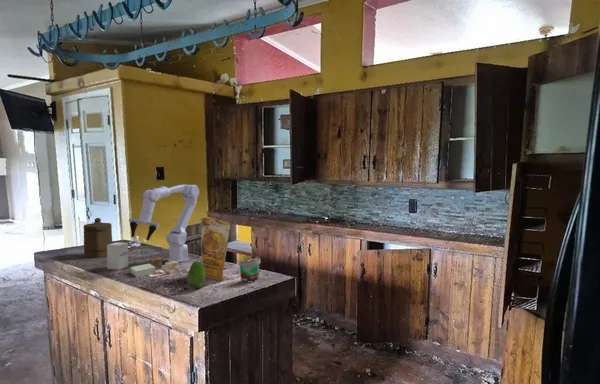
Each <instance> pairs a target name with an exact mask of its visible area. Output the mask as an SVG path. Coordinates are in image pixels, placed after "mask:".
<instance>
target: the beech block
mask: <svg viewBox="0 0 600 384" xmlns="http://www.w3.org/2000/svg"><path fill="white" fill-rule="evenodd" d="M164 272H166V273H167V274H170V275H171V274H174V273H178V272H179V262H175V261H170V262H169V261H167V262H164Z"/></svg>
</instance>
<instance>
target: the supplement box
mask: <svg viewBox="0 0 600 384" xmlns="http://www.w3.org/2000/svg"><path fill="white" fill-rule="evenodd" d="M106 261H107V263H106V265H107V269H108V270H118V271H120V270H122V269H124V268H128V267H129V243H128V242H114V243H113V242H112V244H109V245H107V256H106Z"/></svg>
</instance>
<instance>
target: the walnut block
mask: <svg viewBox="0 0 600 384" xmlns="http://www.w3.org/2000/svg"><path fill="white" fill-rule="evenodd" d="M149 264H151V265H152V266H154V267H155V270H159V269H162V267H163V266H162V264H163V263H162V258H161V257H158V256H157V257H153V258H149Z"/></svg>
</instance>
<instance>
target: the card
mask: <svg viewBox="0 0 600 384" xmlns="http://www.w3.org/2000/svg"><path fill="white" fill-rule="evenodd" d="M155 272H156V273H154V274H150V275H148V276H149V277H150V278H151V277H152V278H153V277H156V276H157V277H158V276H161V275H167V274H168V273H167V272H165V270H162V269H160V270H159V269H158V270H155Z"/></svg>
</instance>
